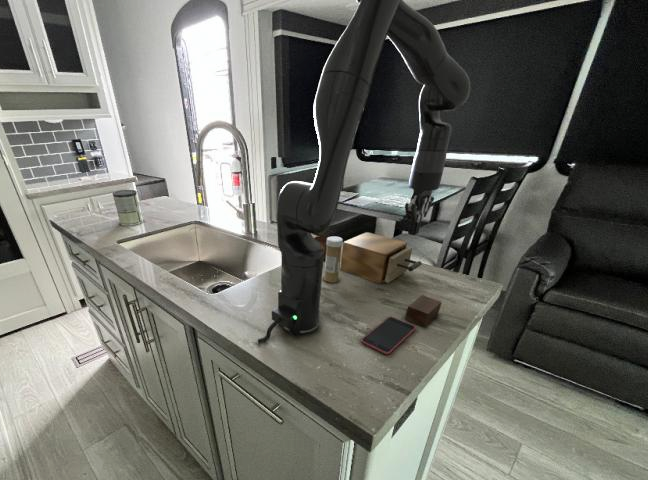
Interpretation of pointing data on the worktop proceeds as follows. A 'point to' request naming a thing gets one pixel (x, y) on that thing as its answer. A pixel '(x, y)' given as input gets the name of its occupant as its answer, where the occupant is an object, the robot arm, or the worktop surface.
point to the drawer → (398, 264)
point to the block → (422, 311)
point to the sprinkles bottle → (333, 258)
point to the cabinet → (368, 255)
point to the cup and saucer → (322, 243)
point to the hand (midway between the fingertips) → (412, 233)
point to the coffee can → (128, 207)
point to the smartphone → (388, 335)
